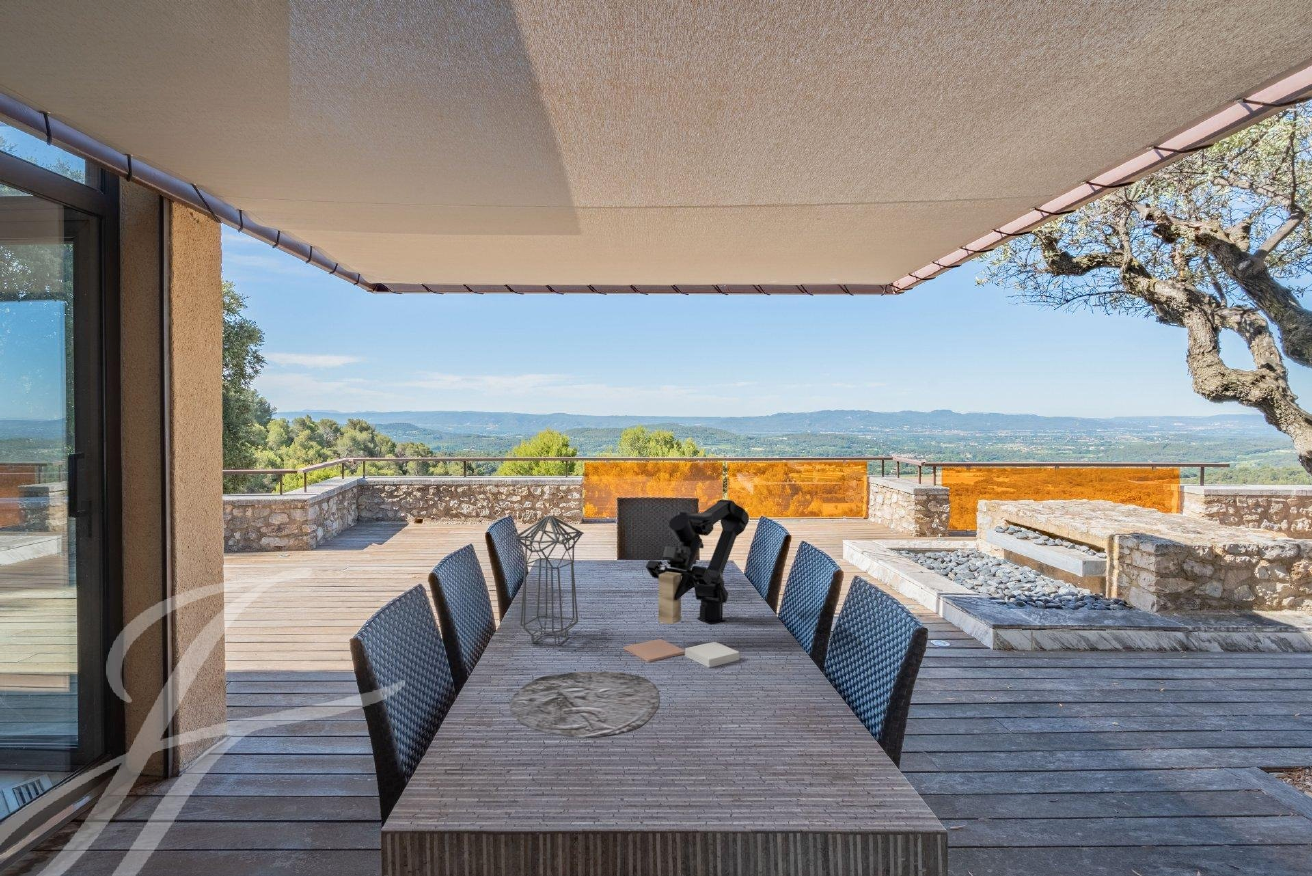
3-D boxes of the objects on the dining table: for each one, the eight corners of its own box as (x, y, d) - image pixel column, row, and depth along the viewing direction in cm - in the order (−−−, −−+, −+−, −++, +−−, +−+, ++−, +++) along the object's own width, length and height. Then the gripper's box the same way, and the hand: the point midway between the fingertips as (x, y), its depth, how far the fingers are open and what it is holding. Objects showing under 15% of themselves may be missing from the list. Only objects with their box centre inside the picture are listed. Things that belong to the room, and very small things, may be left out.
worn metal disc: (515, 748, 128) (515, 746, 128) (505, 679, 162) (505, 678, 162) (684, 728, 137) (684, 726, 137) (641, 667, 170) (641, 665, 170)
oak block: (666, 617, 191) (667, 571, 191) (680, 620, 189) (681, 573, 189) (658, 621, 187) (658, 574, 187) (672, 624, 185) (673, 576, 185)
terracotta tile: (660, 640, 190) (660, 638, 190) (686, 653, 180) (686, 650, 180) (623, 648, 183) (623, 646, 183) (648, 662, 173) (648, 659, 173)
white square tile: (714, 648, 184) (714, 641, 184) (739, 659, 175) (739, 652, 175) (684, 655, 178) (685, 648, 178) (709, 667, 170) (709, 659, 170)
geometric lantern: (561, 652, 180) (562, 521, 179) (509, 645, 185) (510, 518, 184) (586, 634, 195) (587, 513, 194) (538, 629, 200) (538, 510, 199)
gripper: (649, 531, 196) (627, 577, 187) (707, 538, 186) (687, 586, 177) (663, 554, 203) (642, 599, 194) (719, 561, 193) (701, 609, 184)
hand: (667, 598), depth 187 cm, fingers closed on oak block, 4 cm apart
